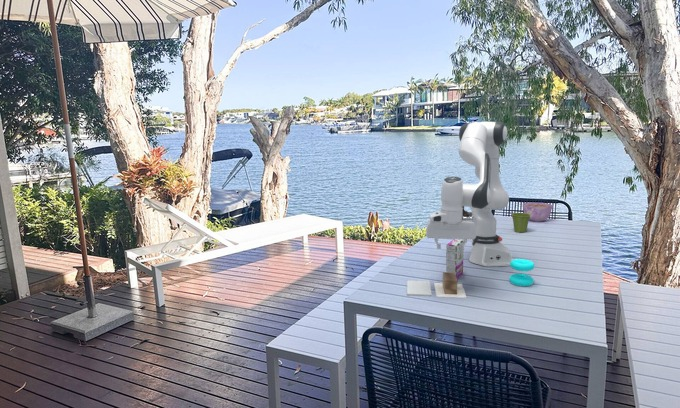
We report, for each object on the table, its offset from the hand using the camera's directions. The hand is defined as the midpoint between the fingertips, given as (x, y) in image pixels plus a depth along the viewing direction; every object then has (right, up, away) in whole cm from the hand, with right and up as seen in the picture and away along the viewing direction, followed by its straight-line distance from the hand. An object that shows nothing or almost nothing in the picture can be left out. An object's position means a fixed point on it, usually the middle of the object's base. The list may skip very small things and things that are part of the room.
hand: (450, 248), depth 185 cm
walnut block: (+1, -18, +3) cm, 18 cm away
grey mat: (-12, -18, +5) cm, 22 cm away
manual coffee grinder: (+37, +3, +118) cm, 124 cm away
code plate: (+1, -18, +3) cm, 18 cm away
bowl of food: (+95, +7, +133) cm, 163 cm away
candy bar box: (+7, -15, +21) cm, 27 cm away
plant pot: (+71, +1, +102) cm, 125 cm away
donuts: (+34, -16, +10) cm, 39 cm away
